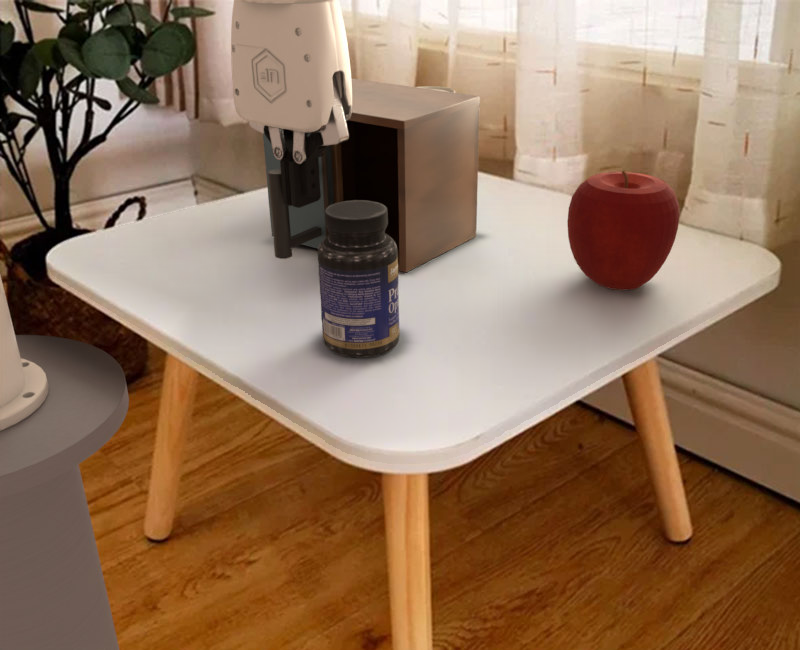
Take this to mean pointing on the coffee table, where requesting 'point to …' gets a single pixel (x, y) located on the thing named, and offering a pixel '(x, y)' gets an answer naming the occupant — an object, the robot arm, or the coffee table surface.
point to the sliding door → (291, 221)
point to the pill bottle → (358, 280)
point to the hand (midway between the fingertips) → (302, 202)
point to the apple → (622, 227)
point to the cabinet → (412, 165)
